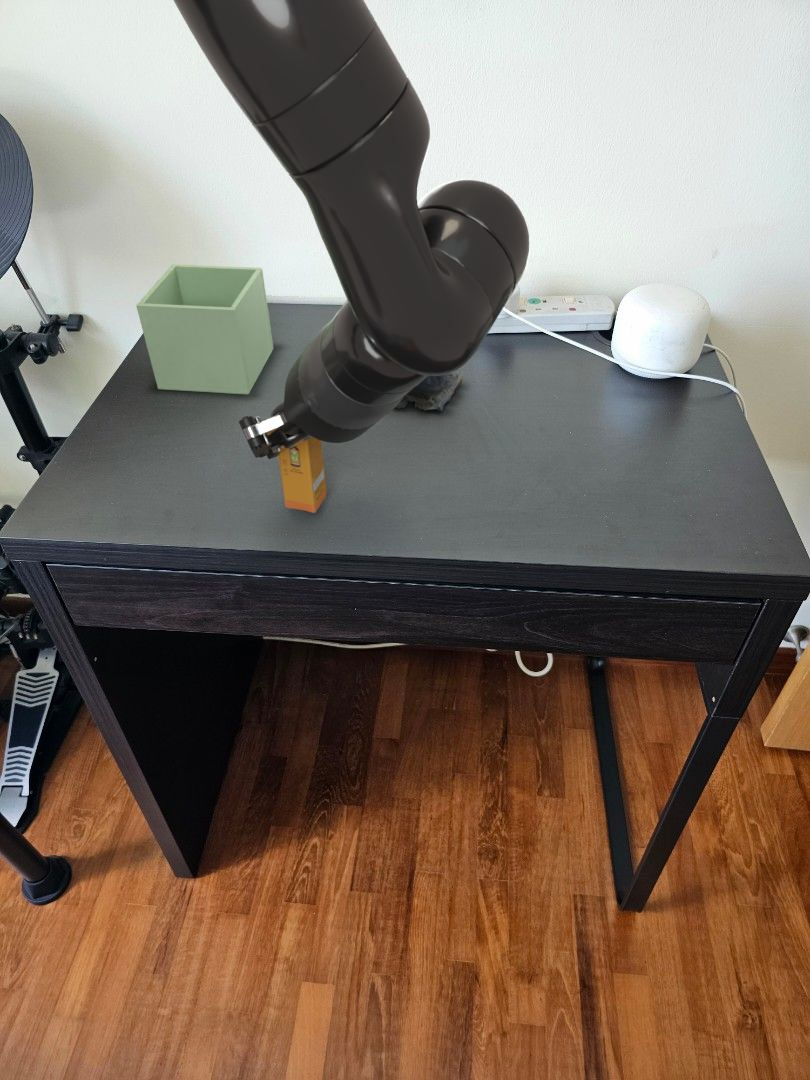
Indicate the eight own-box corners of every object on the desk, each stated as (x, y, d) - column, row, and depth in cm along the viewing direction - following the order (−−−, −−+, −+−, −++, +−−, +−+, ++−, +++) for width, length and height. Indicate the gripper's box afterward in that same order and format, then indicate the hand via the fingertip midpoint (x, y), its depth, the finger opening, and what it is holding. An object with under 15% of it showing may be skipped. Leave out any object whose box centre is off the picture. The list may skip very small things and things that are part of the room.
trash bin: (248, 394, 93) (234, 309, 86) (157, 389, 94) (135, 305, 87) (273, 348, 101) (262, 267, 94) (189, 344, 102) (172, 264, 95)
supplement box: (329, 493, 77) (320, 405, 70) (315, 515, 75) (304, 425, 68) (298, 487, 78) (287, 399, 71) (283, 508, 75) (269, 419, 69)
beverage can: (451, 417, 88) (454, 317, 80) (384, 410, 90) (380, 311, 82) (464, 376, 95) (468, 280, 87) (402, 370, 96) (400, 275, 88)
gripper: (409, 306, 61) (339, 380, 76) (239, 359, 55) (202, 427, 70) (448, 396, 61) (371, 451, 76) (283, 458, 55) (236, 504, 71)
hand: (290, 439), depth 73 cm, fingers closed on supplement box, 4 cm apart
